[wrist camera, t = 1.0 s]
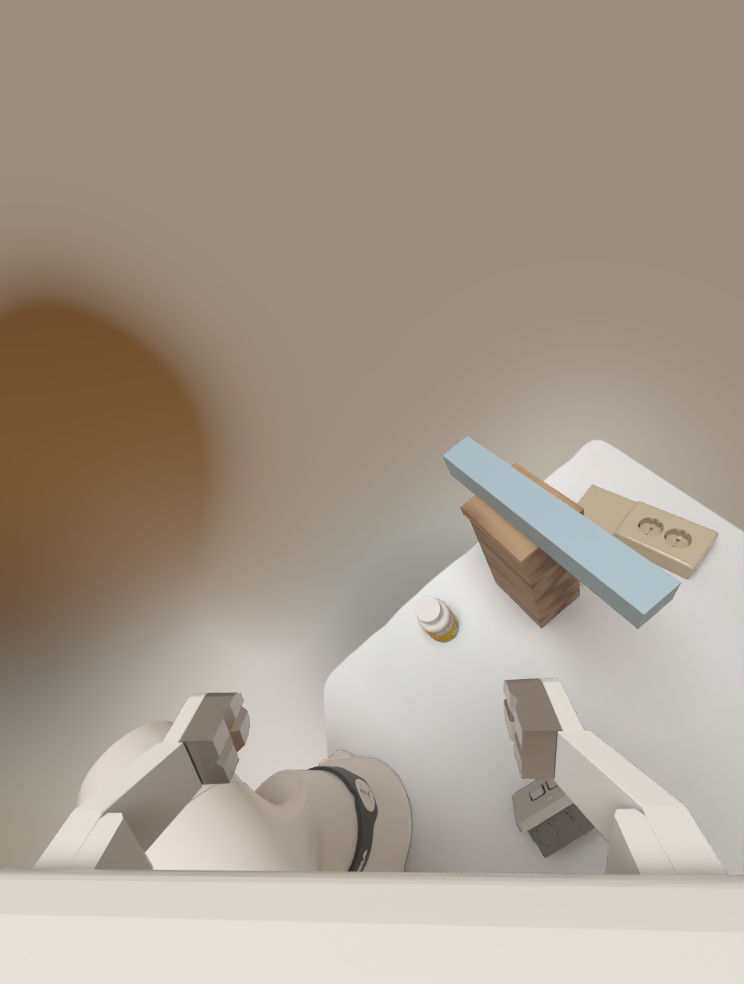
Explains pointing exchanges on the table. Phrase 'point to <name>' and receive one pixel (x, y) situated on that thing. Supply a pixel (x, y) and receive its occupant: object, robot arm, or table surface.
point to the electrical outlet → (650, 530)
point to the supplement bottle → (436, 619)
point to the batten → (565, 534)
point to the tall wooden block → (523, 559)
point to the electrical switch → (548, 815)
